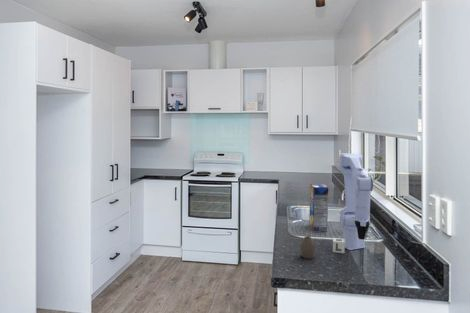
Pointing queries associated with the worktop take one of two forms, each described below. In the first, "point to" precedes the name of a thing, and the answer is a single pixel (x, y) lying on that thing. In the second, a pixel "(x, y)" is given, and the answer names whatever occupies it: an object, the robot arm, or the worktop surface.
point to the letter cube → (338, 245)
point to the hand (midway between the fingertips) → (361, 238)
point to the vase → (307, 248)
